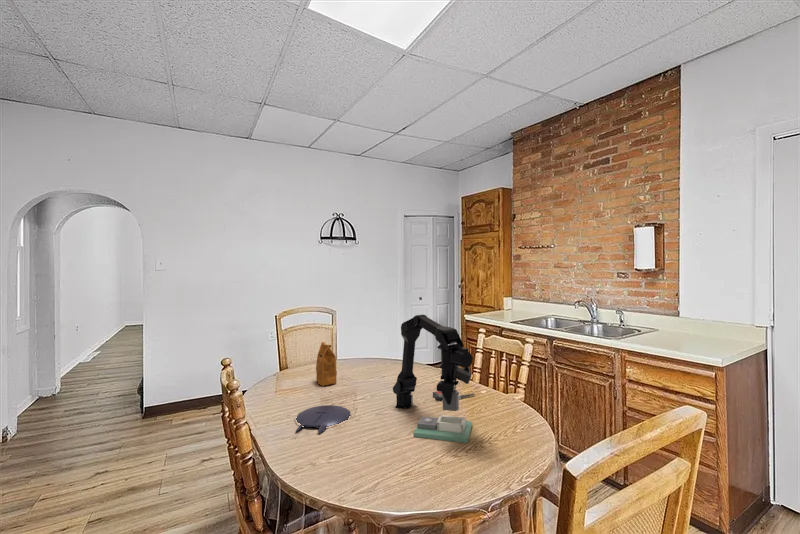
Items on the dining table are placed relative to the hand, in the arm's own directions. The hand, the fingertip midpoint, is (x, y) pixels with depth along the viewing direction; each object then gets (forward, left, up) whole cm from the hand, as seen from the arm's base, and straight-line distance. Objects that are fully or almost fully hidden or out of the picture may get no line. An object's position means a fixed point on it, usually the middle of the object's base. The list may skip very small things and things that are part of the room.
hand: (449, 402), depth 145 cm
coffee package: (-76, +43, -11) cm, 88 cm away
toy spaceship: (-55, -1, -12) cm, 56 cm away
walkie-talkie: (-5, +37, -12) cm, 39 cm away
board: (-3, 0, -11) cm, 11 cm away
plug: (0, 0, -2) cm, 3 cm away
